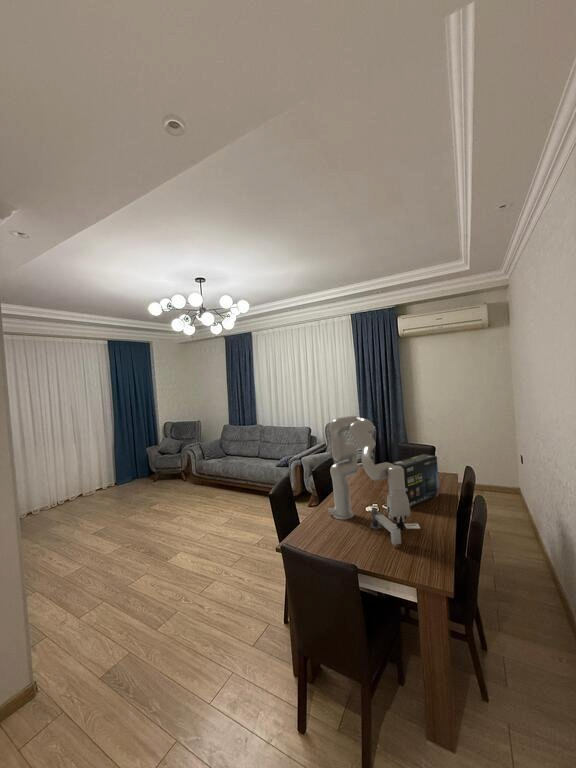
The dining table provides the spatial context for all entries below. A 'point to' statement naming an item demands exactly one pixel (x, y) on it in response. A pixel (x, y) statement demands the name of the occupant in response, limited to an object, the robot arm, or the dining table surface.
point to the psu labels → (411, 526)
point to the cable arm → (389, 527)
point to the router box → (420, 478)
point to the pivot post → (374, 520)
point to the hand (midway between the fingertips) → (400, 529)
